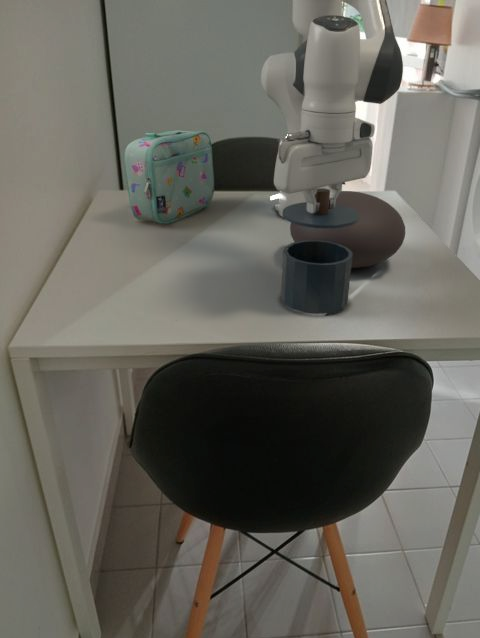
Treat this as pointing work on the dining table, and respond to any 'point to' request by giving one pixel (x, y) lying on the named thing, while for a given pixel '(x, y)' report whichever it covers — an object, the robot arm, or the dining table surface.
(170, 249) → the dining table surface
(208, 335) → the dining table surface
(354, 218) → the lid
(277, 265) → the dining table surface
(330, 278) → the tin
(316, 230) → the flattened ellipsoid
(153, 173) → the lunch box
